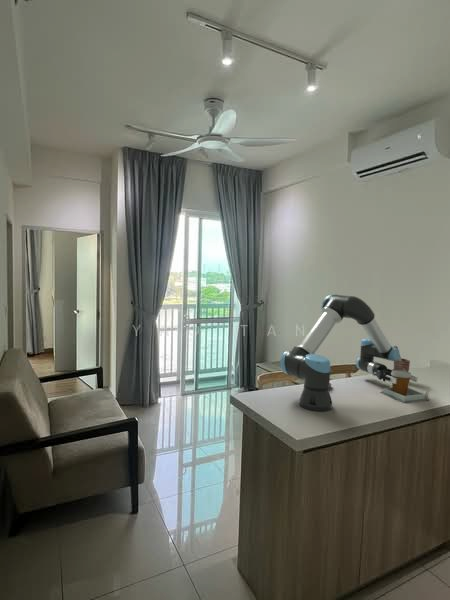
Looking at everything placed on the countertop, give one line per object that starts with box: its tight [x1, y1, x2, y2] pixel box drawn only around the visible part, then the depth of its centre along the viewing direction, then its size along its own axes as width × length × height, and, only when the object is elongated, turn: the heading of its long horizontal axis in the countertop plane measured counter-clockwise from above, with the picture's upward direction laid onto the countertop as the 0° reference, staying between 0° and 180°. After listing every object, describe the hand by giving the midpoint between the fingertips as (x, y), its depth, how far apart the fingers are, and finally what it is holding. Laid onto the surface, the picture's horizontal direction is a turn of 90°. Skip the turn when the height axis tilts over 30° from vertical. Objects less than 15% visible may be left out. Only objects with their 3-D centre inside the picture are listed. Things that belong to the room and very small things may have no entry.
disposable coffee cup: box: [391, 369, 412, 396], centre depth 190 cm, size 10×10×12 cm
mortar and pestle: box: [393, 345, 411, 372], centre depth 219 cm, size 12×9×20 cm
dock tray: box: [380, 386, 430, 404], centre depth 190 cm, size 16×16×5 cm
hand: (406, 380), depth 189 cm, fingers open, 13 cm apart
